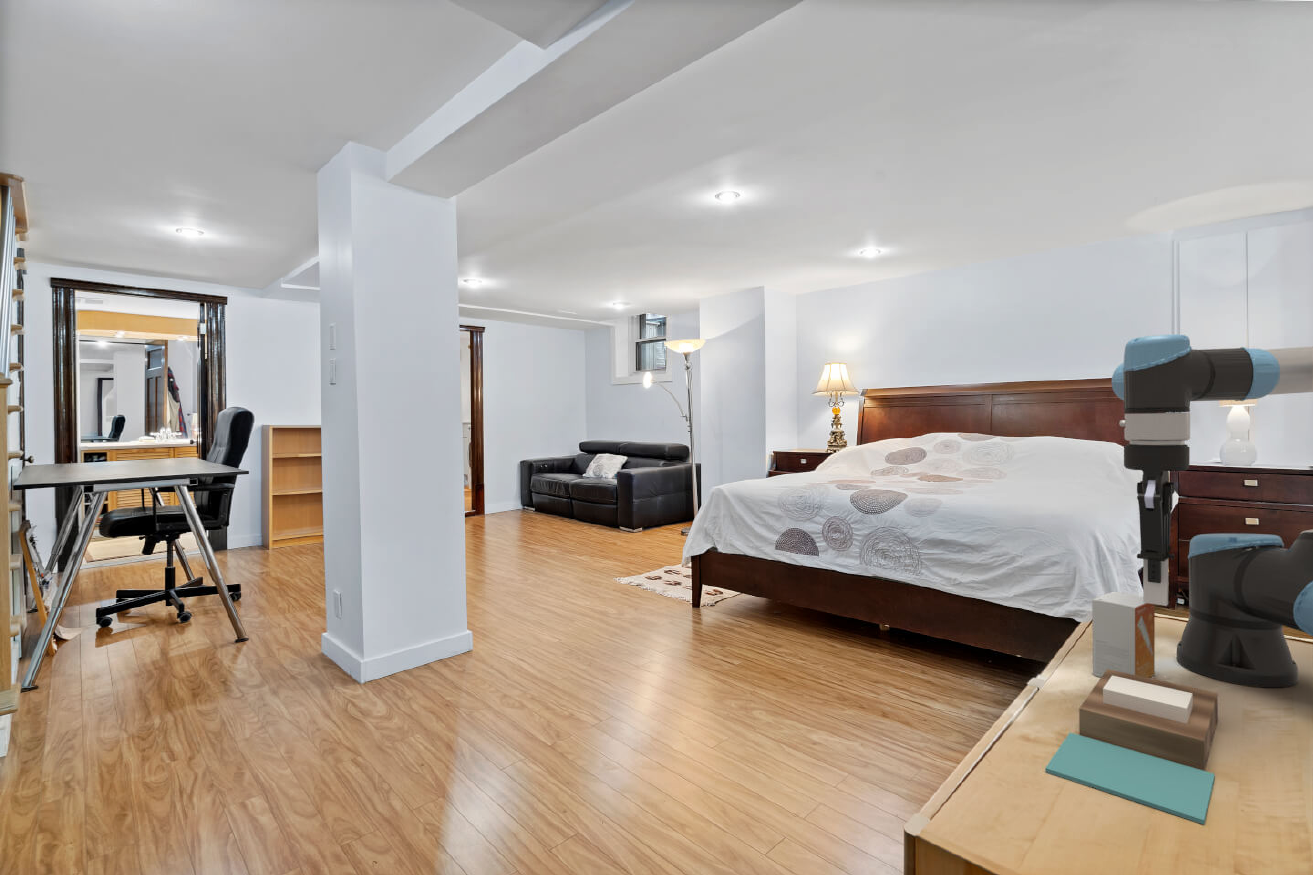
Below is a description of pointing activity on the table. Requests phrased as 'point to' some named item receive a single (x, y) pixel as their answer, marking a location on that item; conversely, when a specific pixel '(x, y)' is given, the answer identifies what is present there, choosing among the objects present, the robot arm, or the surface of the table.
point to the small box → (1123, 634)
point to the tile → (1148, 698)
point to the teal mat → (1134, 776)
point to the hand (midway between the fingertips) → (1155, 602)
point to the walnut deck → (1152, 724)
